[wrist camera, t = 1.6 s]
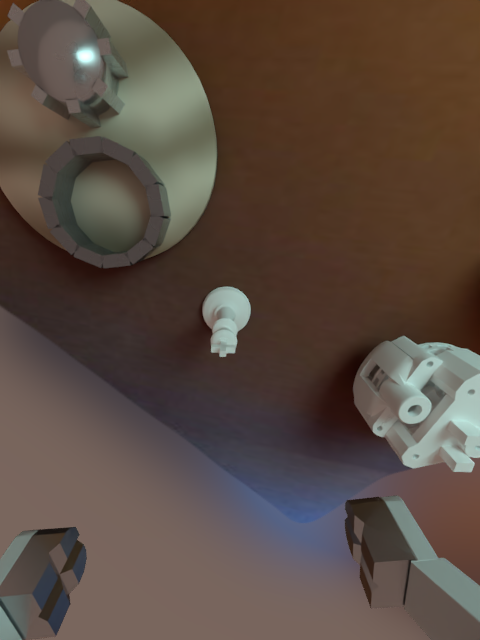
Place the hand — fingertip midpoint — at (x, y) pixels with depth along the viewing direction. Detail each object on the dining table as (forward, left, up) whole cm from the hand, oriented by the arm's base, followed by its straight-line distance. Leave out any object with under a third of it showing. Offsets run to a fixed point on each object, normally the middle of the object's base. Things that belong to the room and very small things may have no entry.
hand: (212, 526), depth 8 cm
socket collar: (-11, -8, -19) cm, 24 cm away
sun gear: (-20, -8, -19) cm, 29 cm away
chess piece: (0, 0, -22) cm, 22 cm away
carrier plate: (-15, -8, -21) cm, 27 cm away
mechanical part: (+9, +18, -22) cm, 29 cm away
